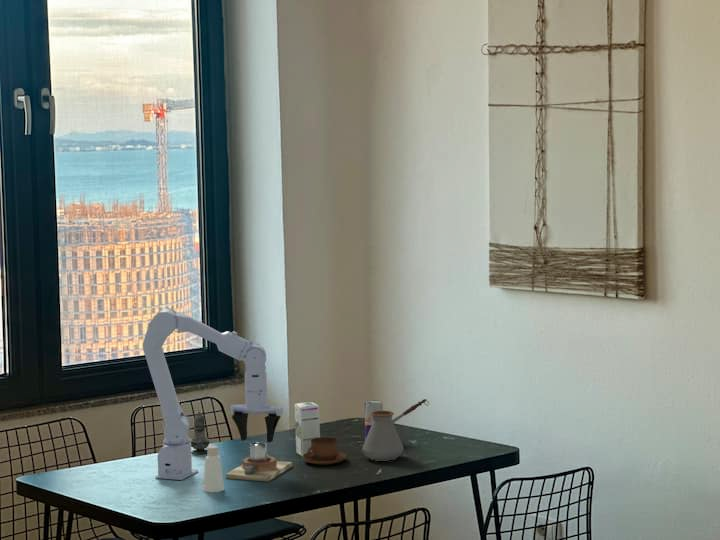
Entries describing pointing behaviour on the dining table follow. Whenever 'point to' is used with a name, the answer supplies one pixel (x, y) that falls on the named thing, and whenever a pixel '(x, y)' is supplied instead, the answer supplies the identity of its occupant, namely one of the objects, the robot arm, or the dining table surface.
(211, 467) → the white squeeze bottle
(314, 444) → the cup and saucer
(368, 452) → the coffee pot
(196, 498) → the dining table surface
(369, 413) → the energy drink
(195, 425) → the grey flanged cylinder
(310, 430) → the syrup box
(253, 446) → the cylinder
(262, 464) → the coupling stand
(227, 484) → the dining table surface
